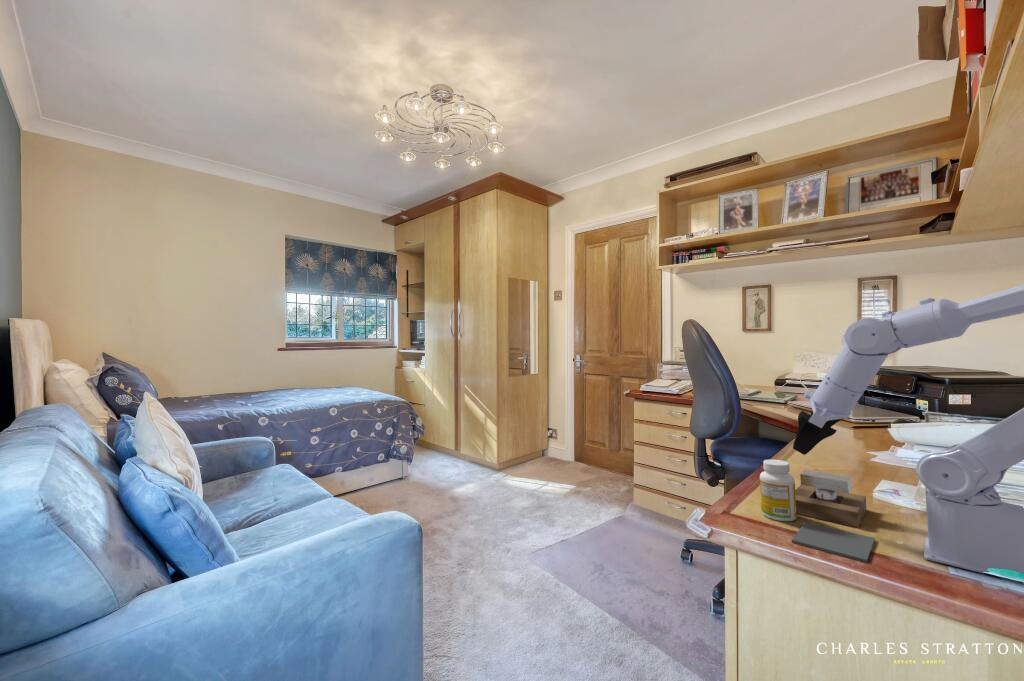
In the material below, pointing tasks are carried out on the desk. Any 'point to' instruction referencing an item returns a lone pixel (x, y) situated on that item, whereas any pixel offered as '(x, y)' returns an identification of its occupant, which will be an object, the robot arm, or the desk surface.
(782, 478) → the supplement bottle
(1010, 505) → the robot arm
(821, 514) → the socket block
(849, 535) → the charcoal mat
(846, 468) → the desk surface
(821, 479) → the steel t key
